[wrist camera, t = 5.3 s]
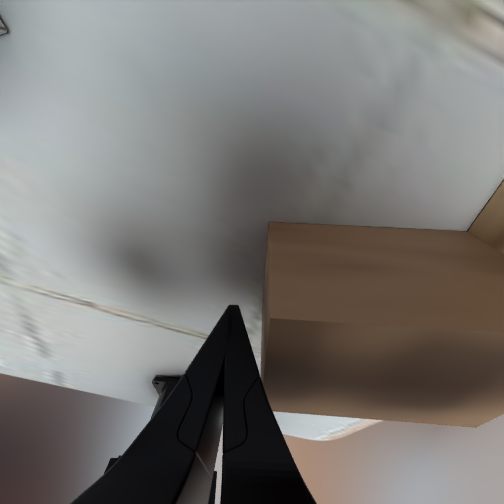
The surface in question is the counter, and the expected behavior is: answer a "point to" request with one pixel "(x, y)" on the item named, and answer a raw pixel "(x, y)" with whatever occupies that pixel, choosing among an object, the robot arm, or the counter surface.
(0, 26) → the light bulb box
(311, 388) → the walnut block
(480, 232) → the oak board
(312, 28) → the counter surface
